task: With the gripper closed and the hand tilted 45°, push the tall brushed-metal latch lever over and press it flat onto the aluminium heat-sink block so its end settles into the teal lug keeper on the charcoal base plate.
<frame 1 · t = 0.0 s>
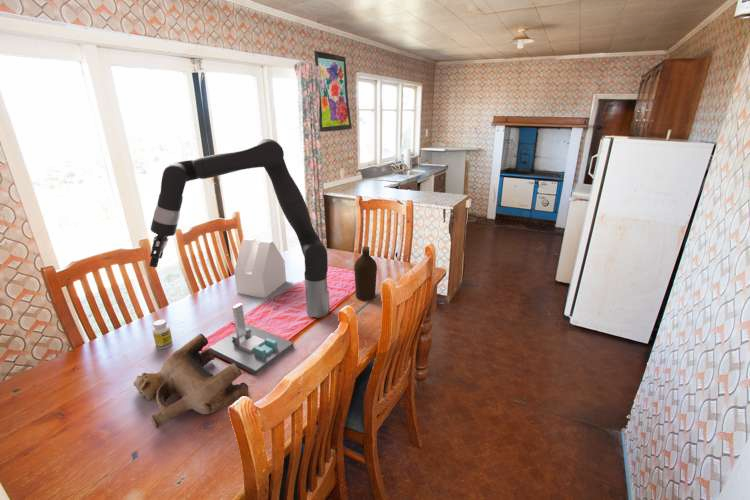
hand: (155, 262, 127), 31 cm above the table, tool tilted 20°, fingers open, 8 cm apart
supplement bottle: (164, 345, 133), on the table
olive oil: (365, 296, 171), on the table
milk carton: (262, 287, 179), on the table
base plate: (252, 349, 131), on the table
latch lever: (239, 321, 130), point 10 cm above the table, hinge at 0.0°
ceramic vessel: (190, 396, 110), on the table
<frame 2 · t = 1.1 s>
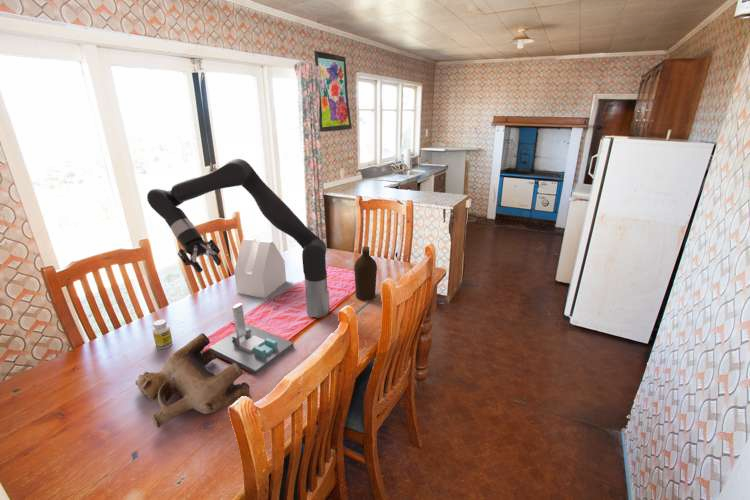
hand: (210, 267, 134), 27 cm above the table, tool tilted 45°, fingers open, 7 cm apart
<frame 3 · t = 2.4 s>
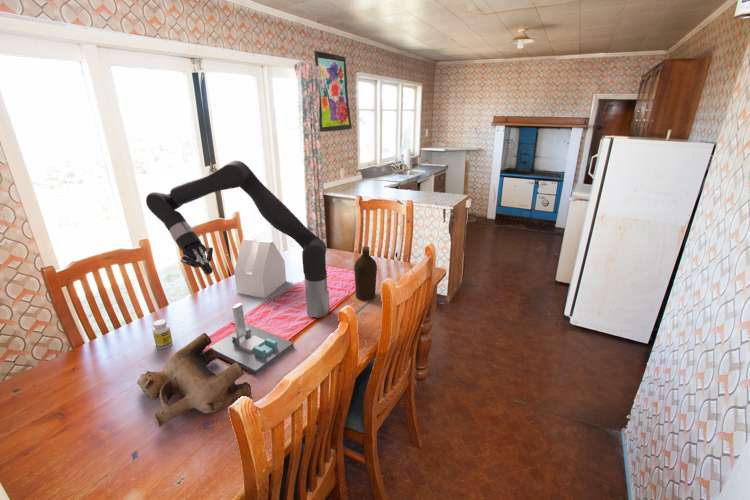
hand: (210, 273, 134), 25 cm above the table, tool tilted 45°, fingers closed
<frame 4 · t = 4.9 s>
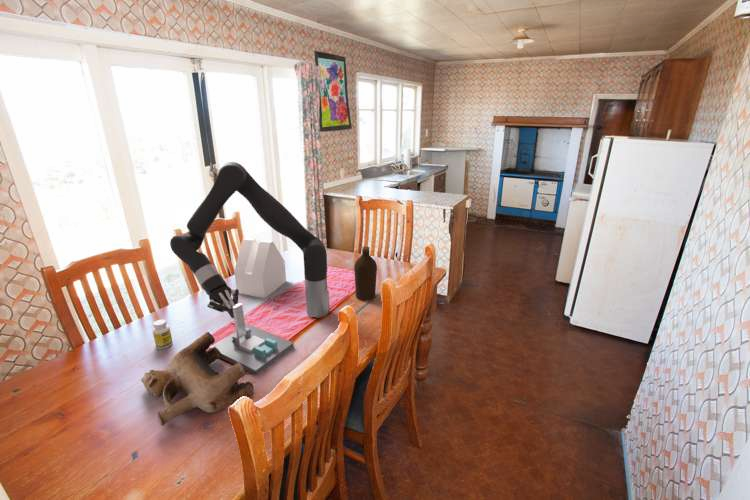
hand: (237, 317, 130), 12 cm above the table, tool tilted 45°, fingers closed
latch lever: (239, 321, 130), point 10 cm above the table, hinge at 0.0°, touching gripper
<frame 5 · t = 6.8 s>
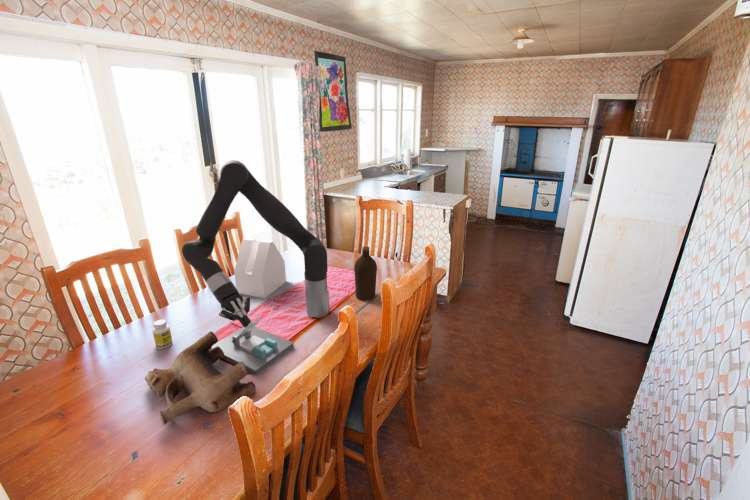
hand: (248, 326, 128), 10 cm above the table, tool tilted 45°, fingers closed
latch lever: (248, 328, 128), point 9 cm above the table, hinge at 42.9°, touching gripper
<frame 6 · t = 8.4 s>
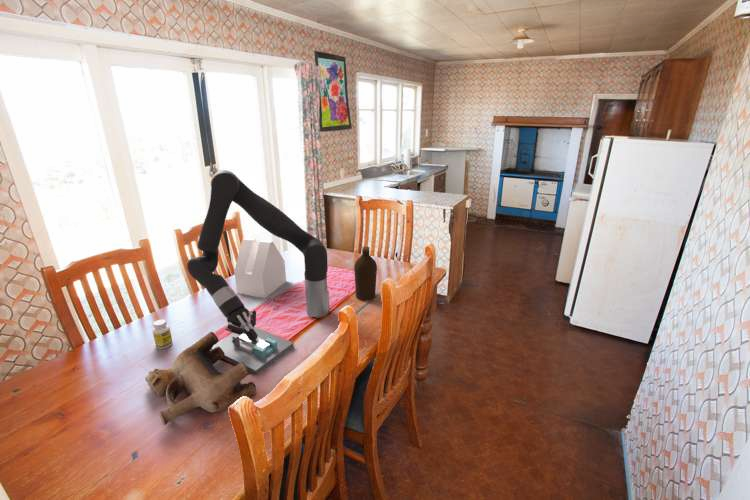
hand: (255, 339, 129), 5 cm above the table, tool tilted 45°, fingers closed
latch lever: (254, 341, 129), point 4 cm above the table, hinge at 90.8°, touching gripper
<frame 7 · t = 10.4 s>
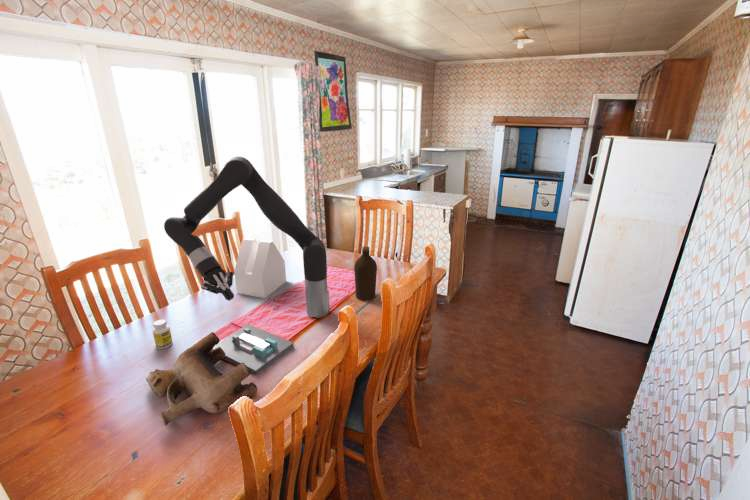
hand: (231, 299, 131), 17 cm above the table, tool tilted 45°, fingers closed
latch lever: (254, 341, 129), point 4 cm above the table, hinge at 90.8°
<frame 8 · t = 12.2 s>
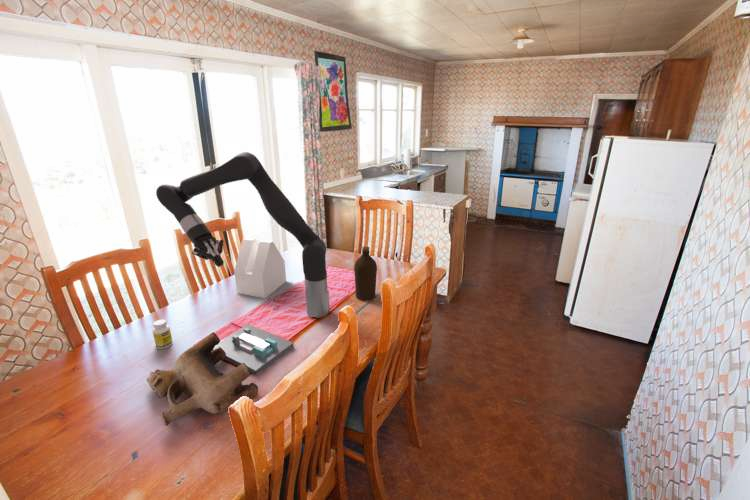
hand: (221, 265, 134), 28 cm above the table, tool tilted 45°, fingers closed
at the end: latch lever at +91° (first picture: +0°) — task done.
